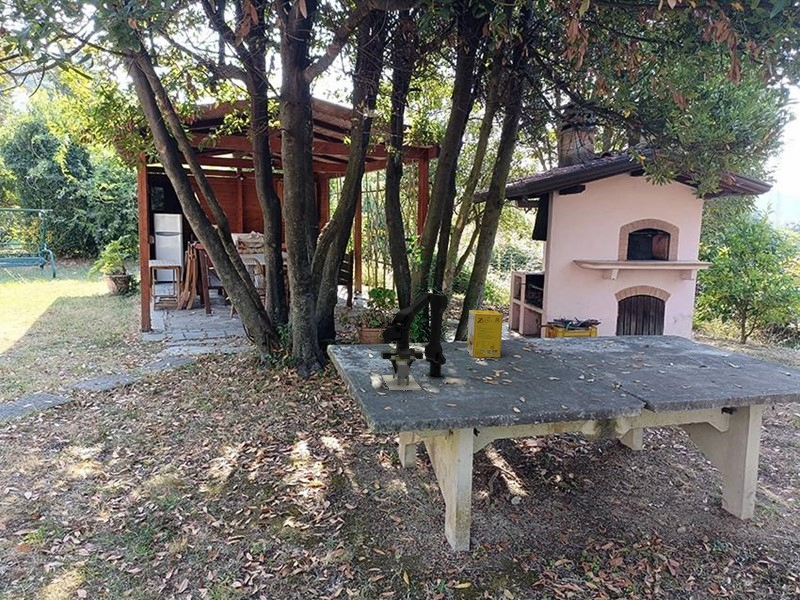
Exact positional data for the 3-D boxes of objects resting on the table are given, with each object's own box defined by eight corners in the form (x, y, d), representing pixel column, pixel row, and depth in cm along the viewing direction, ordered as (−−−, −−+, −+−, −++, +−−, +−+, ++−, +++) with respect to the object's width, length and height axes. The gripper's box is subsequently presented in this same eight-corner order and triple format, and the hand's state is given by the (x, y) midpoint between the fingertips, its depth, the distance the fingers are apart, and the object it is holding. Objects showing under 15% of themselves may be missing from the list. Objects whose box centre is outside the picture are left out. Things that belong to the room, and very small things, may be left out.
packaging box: (466, 351, 319) (469, 309, 316) (493, 351, 320) (496, 310, 317) (471, 357, 303) (474, 313, 300) (500, 358, 304) (502, 315, 301)
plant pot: (386, 367, 271) (387, 350, 270) (401, 365, 277) (402, 348, 275) (397, 371, 263) (398, 354, 262) (412, 369, 269) (413, 352, 268)
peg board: (381, 377, 251) (382, 367, 251) (410, 376, 254) (410, 367, 253) (389, 390, 230) (390, 380, 229) (421, 390, 232) (421, 380, 232)
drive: (393, 373, 245) (394, 360, 244) (404, 373, 246) (405, 360, 245) (397, 379, 236) (398, 365, 236) (408, 379, 237) (409, 365, 237)
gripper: (385, 343, 230) (383, 378, 232) (427, 343, 233) (425, 378, 235) (381, 338, 241) (379, 371, 242) (421, 338, 244) (419, 371, 246)
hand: (401, 373), depth 241 cm, fingers closed on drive, 5 cm apart
